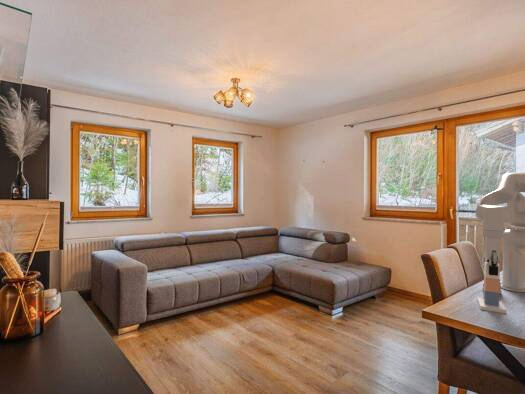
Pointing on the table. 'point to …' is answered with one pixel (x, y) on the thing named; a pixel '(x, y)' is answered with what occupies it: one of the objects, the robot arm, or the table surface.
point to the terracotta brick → (491, 284)
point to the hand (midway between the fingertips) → (491, 272)
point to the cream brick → (486, 271)
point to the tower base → (490, 307)
